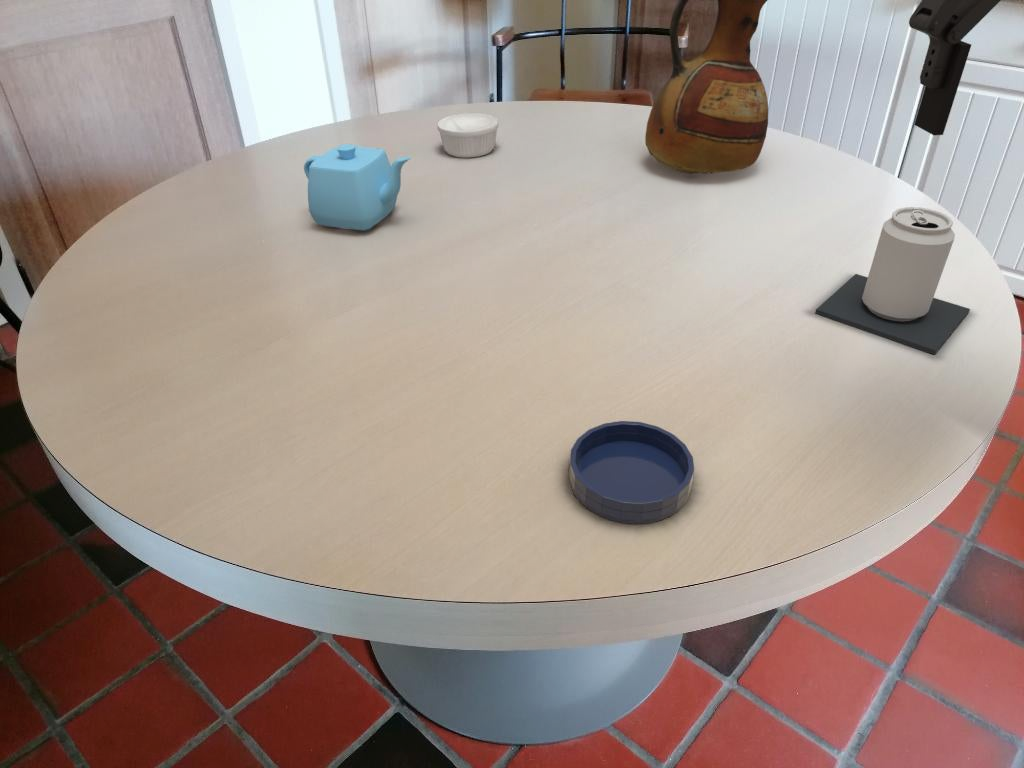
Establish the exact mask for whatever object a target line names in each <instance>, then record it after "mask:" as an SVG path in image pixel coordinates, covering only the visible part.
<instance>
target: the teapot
mask: <svg viewBox="0 0 1024 768" xmlns="http://www.w3.org/2000/svg"><path fill="white" fill-rule="evenodd" d="M411 159H412V158H411V157H409V156H408V157H399V158H398V157H397V158H396V159H394V160H393V162H392V163H390V160H389V158H388V155H387V153H386V151H385V149H383V148H375V147H368V146H367V147H366V146H356V145H355V144H352V143H344V144H340V145H338V146H335V147H333V148H331V149H330V150H327V151H326V152H324V153H323V154H321V155H317V154H316V155H312V156H310V157H308V158H307V160H305V162H304V164H303V169H304V170H303V171H304V174H305V177H306V178H307V203H308V211H309V213H310V217H311V218H312V219H313V222H314V223H315V224H316V225H319V226H325V227H330V228H339V229H347V230H358V231H363V232H365V231H370V230H372V229H373V227H374V226H376V225H377V224H378V223H380V222H382V221H383V220H384V219H385V218H387V216H388V215H389V214H391V212H392V211H393V209H394V207H396V204H397V199H398V195H399V193H400V191H401V184H402V182H401V181H402V178H401V177H402V176H401V173H402V168H403V166H404V165H405V163H407V162H408V161H410V160H411Z"/></svg>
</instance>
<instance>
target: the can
mask: <svg viewBox="0 0 1024 768" xmlns="http://www.w3.org/2000/svg"><path fill="white" fill-rule="evenodd" d="M953 225H954V221H953V220H952V218H951V217H950V216H948V215H946V213H943V212H940V211H939V210H934V209H931V208H927V207H926V208H925V207H919V206H918V207H917V206H916V207H915V206H907V207H901V208H897V209H896V210H894V211H893V212H892V215H891V217H890V218H888V219H887V220H885V221H884V222H883V224H882V228H881V232H880V235H879V238H878V242H877V245H876V249H875V251H874V256H873V259H872V262H871V265H870V269H869V271H868V276H867V277H868V279H867V282H866V286H865V289H864V293H863V296H862V299H863V302H864V303H865V305H866V306H867V307H868V309H869V310H870V311H871V312H872V313H874V314H876V315H877V316H879V317H882V318H885V319H888V320H893V321H911V320H914V319H916V318H918V317H921V316H924V315H925V314H926V313H927V312H928V311H929V309H930V306H931V303H932V300H933V298H935V294H936V291H937V289H938V285H939V284H940V281H941V277H942V275H943V272H944V270H945V267H946V263H947V260H948V258H949V256H950V255H949V254H950V252H951V250H952V246H953V244H954V241H955V238H956V234H955V232H954V231H953V229H952V227H953Z"/></svg>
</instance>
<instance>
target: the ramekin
mask: <svg viewBox="0 0 1024 768" xmlns="http://www.w3.org/2000/svg"><path fill="white" fill-rule="evenodd" d="M498 129H499V120H498V119H497V118H496V117H495V116H493V115H490V114H485V113H476V112H475V113H473V112H471V113H470V112H469V113H468V112H467V113H458V114H453V115H452V114H451V115H449V116H446V117H444V118H442V119H440V120H439V121H438V122H437V131H438V132H439V135H440V140H441V143H442V148H443V150H444V151H445V152H446V153H447V154H448V155H450V156H452V157H456V158H464V159H465V158H467V159H468V158H477V157H482V156H486V155H488V154H490V153H491V152H492V151H493V150H494V148H495V145H496V139H497V132H498Z"/></svg>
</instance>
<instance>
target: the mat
mask: <svg viewBox="0 0 1024 768" xmlns="http://www.w3.org/2000/svg"><path fill="white" fill-rule="evenodd" d="M867 279H868V276H864V275H862V274H857V273H855V274H854V275H852V276H851V278H849V279H848V280H847V281H846V282H845V283H843V285H841V286H840V287H839V288H838V289H837V290H836V291H835V292H834V293H832V294H831V295H830V296H829V297H828V298H826V300H824V301H823V302H822V303H821V304H820V305H819V306H818V307H817V308H816V309H815V312H814V314H816V315H819V316H821V317H825V318H827V319H830V320H833V321H835V322H839V323H841V324H844V325H847V326H850V327H853V328H857V329H859V330H862V331H865V332H867V333H870V334H874V335H876V336H880V337H882V338H886V339H888V340H890V341H894V342H897V343H900V344H902V345H905V346H908V347H911V348H913V349H917V350H919V351H923V352H926V353H928V354H930V355H931V354H932V355H937V353H938V352H939V350H940V349H941V348H942V346H943V345H944V344H945V343H946V342H947V340H948V339H949V338H950V337H951V335H952V334H953V333H954V332H955V331H956V329H957V328H958V327H959V326H960V324H961V323H962V322H963V321H964V320H965V318H966V317H967V316H968V314H969V313H970V311H971V308H970V307H969V308H968V307H964V306H962V305H959V304H956V303H953V302H949V301H945V300H942V299H939V298H936V297H933V300H932V303H931V306H930V309H929V311H928V312H927V313H926V314H925V315H924V316H921V317H918V318H916V319H914V320H911V321H893V320H888V319H885V318H882V317H879V316H877V315H876V314H874V313H872V312H871V311H870V310H869V309H868V307H867V306H866V305H865V303H864V302H863V299H862V296H863V293H864V289H865V286H866V282H867Z"/></svg>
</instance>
